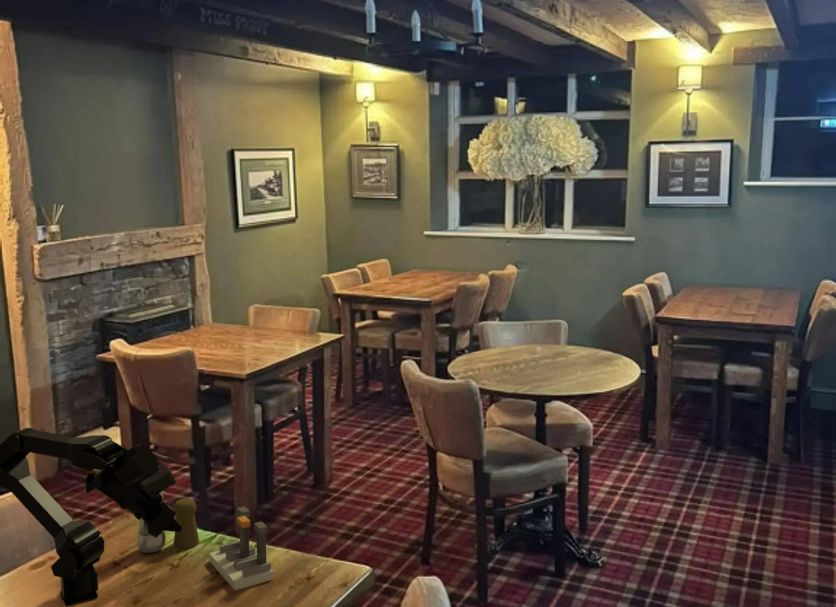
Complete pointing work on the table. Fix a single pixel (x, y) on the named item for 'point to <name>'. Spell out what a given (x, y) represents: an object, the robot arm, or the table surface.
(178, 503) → the olive pepper mill
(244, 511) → the handle
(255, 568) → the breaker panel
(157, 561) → the table surface
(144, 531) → the plastic bottle
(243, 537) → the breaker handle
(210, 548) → the table surface
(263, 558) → the right breaker handle
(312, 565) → the table surface
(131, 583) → the table surface
